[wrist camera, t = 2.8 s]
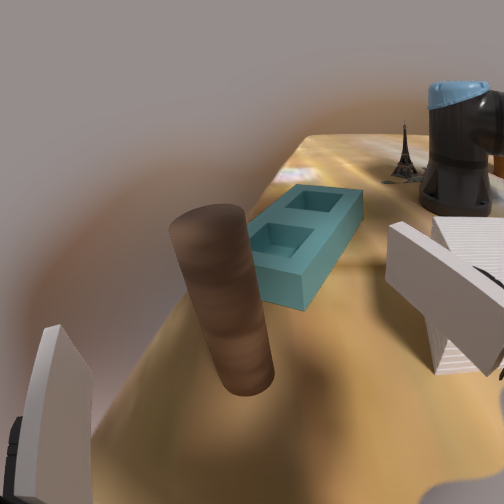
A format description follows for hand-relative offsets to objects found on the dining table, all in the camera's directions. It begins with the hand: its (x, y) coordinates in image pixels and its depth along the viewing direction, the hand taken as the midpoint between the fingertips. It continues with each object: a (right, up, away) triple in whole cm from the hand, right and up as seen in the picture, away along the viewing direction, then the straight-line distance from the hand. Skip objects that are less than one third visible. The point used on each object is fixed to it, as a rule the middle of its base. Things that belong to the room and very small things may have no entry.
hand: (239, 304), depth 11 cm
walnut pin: (0, -10, +17) cm, 20 cm away
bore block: (+8, +2, +35) cm, 36 cm away
